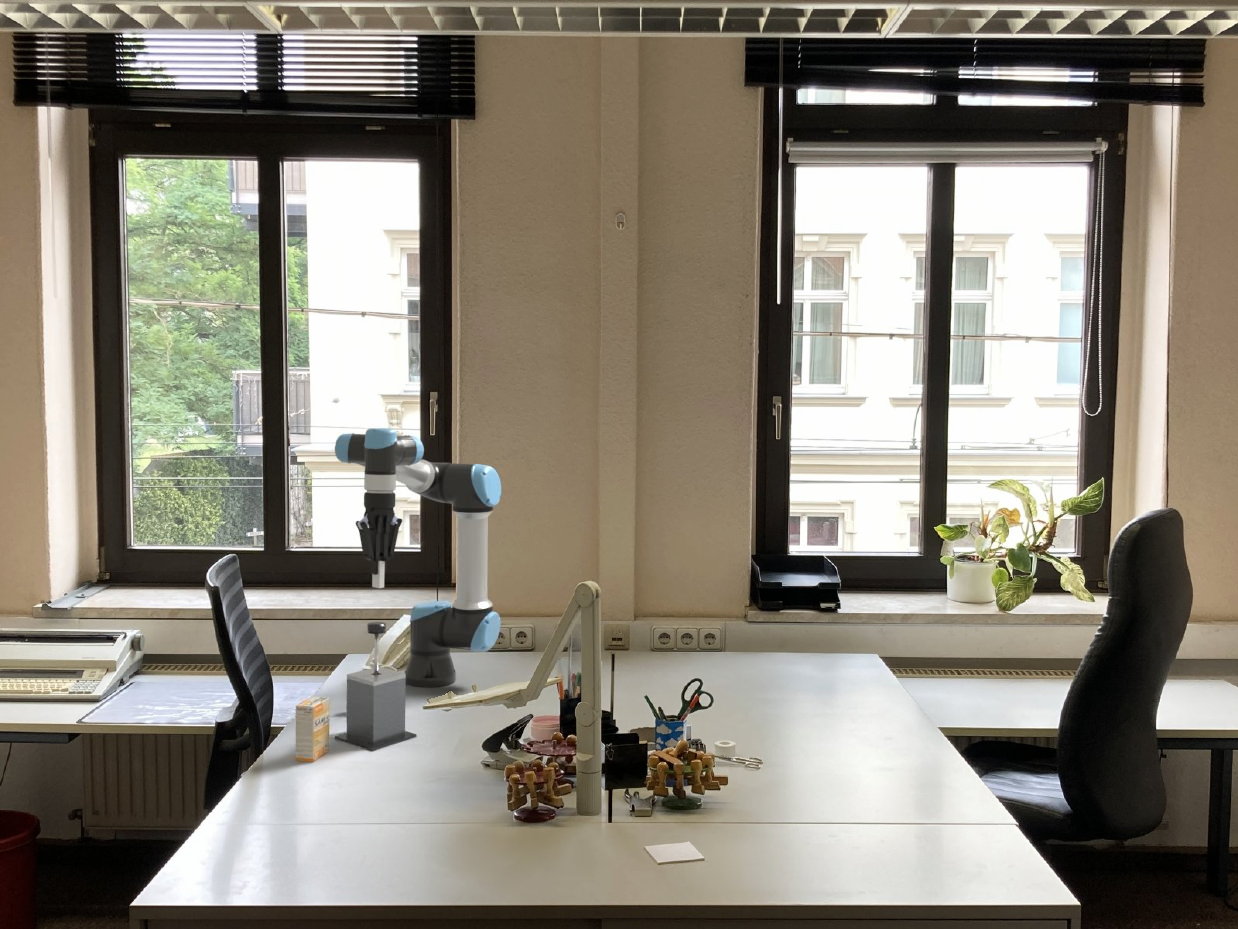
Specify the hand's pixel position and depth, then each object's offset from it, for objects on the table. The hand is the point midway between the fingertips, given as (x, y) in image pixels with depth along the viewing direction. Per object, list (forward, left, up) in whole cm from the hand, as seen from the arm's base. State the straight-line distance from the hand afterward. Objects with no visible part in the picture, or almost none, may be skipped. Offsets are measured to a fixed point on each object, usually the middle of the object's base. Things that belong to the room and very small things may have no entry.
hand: (378, 587), depth 264 cm
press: (+1, +1, -37) cm, 37 cm away
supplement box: (+19, 0, -38) cm, 42 cm away
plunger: (+1, +1, -24) cm, 24 cm away
